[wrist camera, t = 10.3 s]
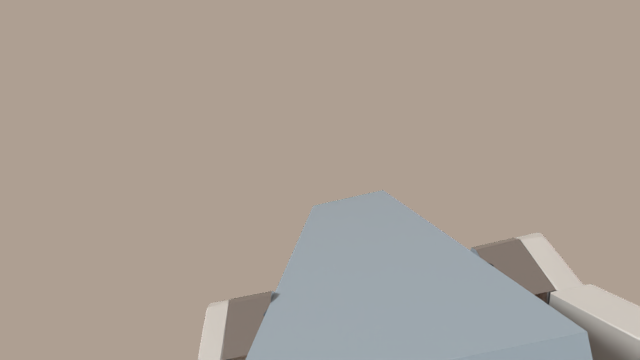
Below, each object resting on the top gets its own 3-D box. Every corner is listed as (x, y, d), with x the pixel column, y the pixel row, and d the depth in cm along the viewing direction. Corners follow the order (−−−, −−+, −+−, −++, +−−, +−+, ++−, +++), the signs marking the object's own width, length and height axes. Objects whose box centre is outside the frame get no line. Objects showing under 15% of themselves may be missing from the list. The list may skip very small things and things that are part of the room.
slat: (615, 473, 5) (587, 331, 5) (258, 541, 5) (225, 405, 5) (389, 217, 27) (383, 190, 27) (319, 233, 27) (313, 205, 27)
